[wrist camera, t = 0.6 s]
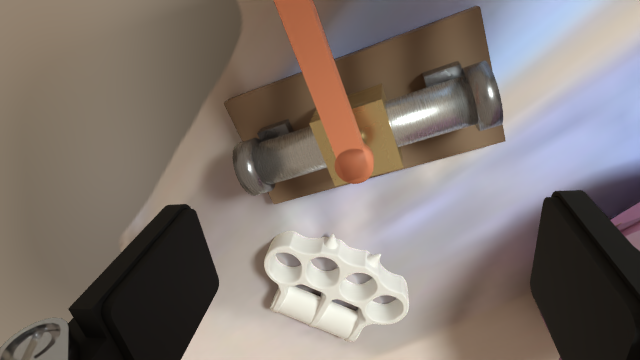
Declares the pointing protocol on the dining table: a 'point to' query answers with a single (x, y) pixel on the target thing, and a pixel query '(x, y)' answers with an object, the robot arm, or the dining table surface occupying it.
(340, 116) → the lever
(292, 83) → the valve board
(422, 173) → the dining table surface
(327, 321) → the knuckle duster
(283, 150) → the water pipe
